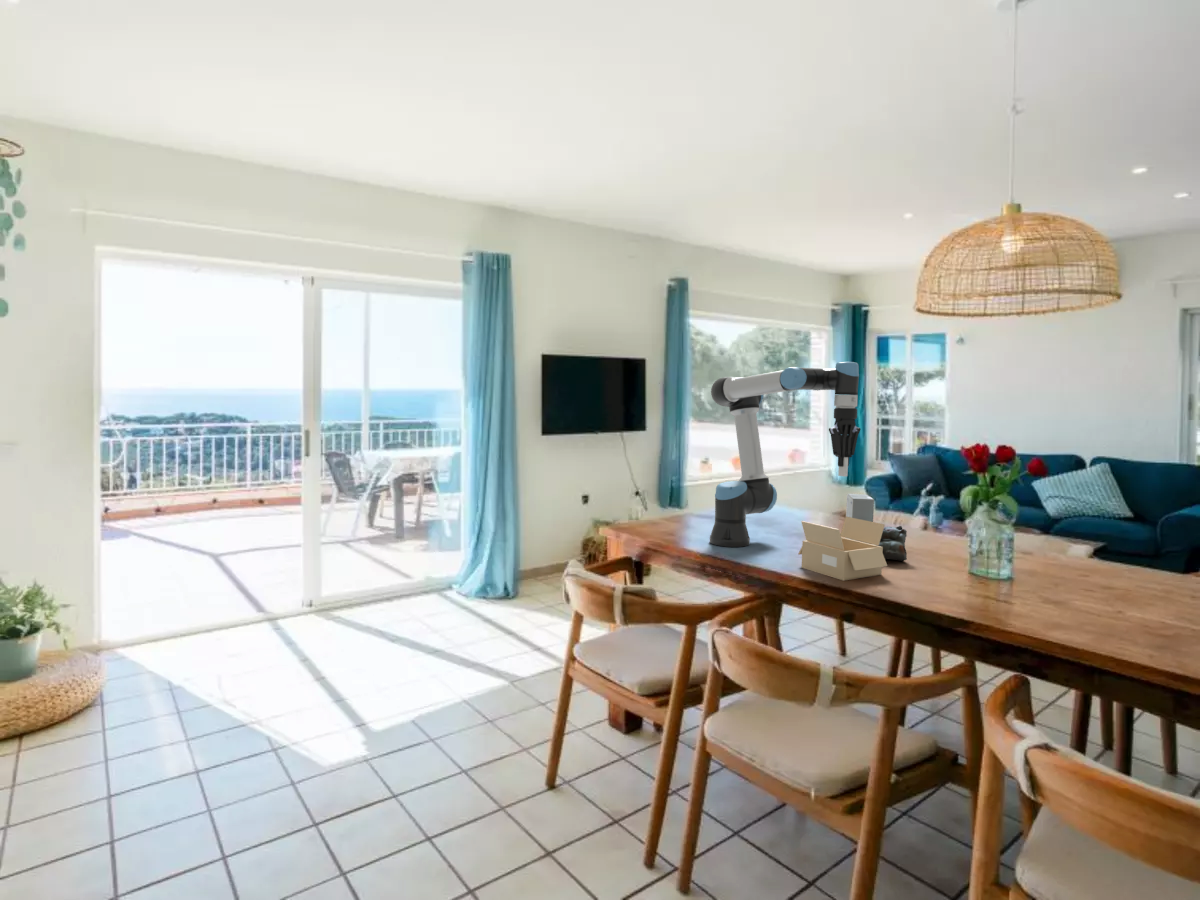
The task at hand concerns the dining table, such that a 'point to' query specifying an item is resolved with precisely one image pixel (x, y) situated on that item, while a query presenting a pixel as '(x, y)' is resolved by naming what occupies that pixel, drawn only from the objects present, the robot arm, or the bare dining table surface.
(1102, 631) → the dining table surface
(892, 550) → the dark grey backpack
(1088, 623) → the dining table surface
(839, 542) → the flap
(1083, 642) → the dining table surface
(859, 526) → the flap
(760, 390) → the robot arm
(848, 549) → the carton
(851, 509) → the hard drive box
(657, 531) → the dining table surface
